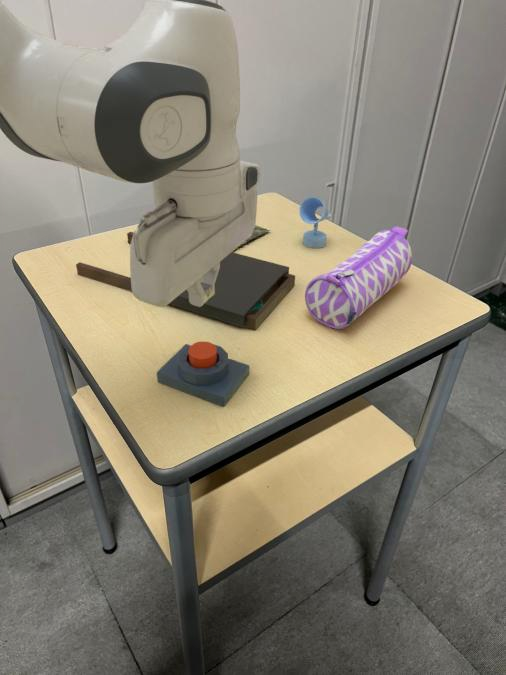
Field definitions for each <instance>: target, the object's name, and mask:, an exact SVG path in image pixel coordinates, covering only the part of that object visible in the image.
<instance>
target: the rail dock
mask: <svg viewBox="0 0 506 675" xmlns="http://www.w3.org/2000/svg"><path fill="white" fill-rule="evenodd" d="M133 233H134V231H129V232H127V233H126V236H127V243H128V244H130V245H131V240H132V237H133ZM75 267H76V273H77V275H78V276H82V277H84V278H87V279H91V280H95V281H98V282H101V283H103V284H108V285H110V286H113V287H117V288H120V289H123V290H127V291H129V292H132V288H131V276H127V275H123V274H120V273H117V272H114V271H110V270H106V269H103V268H100V267H97V266H94V265H90V264H87V263H83V262H81V261H79V262H78V263H76V264H75ZM295 284H296V275H295V274H292V273H289V274H288V273H286V274H285V275H284V276H283V277H282V278H281V279H280V280H279V281H278V282H277V283H276V284H275V285H279V287H278V288H277V289H276V290H275V291H274V292H273V294H272V295H271V296H270V297H269V298H268V299H267V300H266V301H265V303H263V304H262V307H261V308H260V309H258V310H256V312H255V313H254V314H251V313H248V314H247V315H246V316H245V326H244V327H243V328H246V329H250V330H253V331H256V330H257V329H258V328H259V327H260V326H261V324H263V322H264V321H266V319H267V318H268V316H270V314H271V313H272V312H273V311H274V310H275V308H276V307H277V306H278V305H279V304H280V303H281V302H282V300H283V299H284V298H285V297H286V296H287V295H288V293H289V292H290V291H291V290H293V288H294V287H295V286H296V285H295Z"/></svg>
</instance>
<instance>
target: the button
mask: <svg viewBox="0 0 506 675" xmlns="http://www.w3.org/2000/svg"><path fill="white" fill-rule="evenodd" d="M190 345H191V346H190V348H189V350H188V351H189V363H190V365H191V366H192V367H195V368H198V369H206V368H210V367H212V366H214V365H215V364H216V362H217V348H216V346H215V345H216V344H214V343H212V342H211V341H210V342H209V341H198V342H197V341H196V342H194V343H192V344H190Z"/></svg>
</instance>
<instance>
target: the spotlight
mask: <svg viewBox="0 0 506 675" xmlns="http://www.w3.org/2000/svg"><path fill="white" fill-rule="evenodd" d="M321 207H322V208H323V211H322V212H323V213H322V215H321V216H320V218H318V217H317V215H316V211H317V209H318V208H321ZM298 212H299V216H300V219H301V220H302V221H303V222H304V223H305V224H308V225H313V229H310V230H306V231H304V232H303V236H302V244H303V245H304V246H305V247H308V248H310V249H311V248H312V249H320V248H323V247H325V246H326V243H327V234H326V233H325V232H324V231H321V230H318V228H319V223H320V222H323V221H325V220H327V218H328V217H329V214H330V212H329V208H328V207H327V206H326V204H325V203H324V202H323V200H322V199H321V198H319V197H317V196H308V197H306V198H304V199H303V201H302V202H301V203H300V205H299V210H298Z"/></svg>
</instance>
